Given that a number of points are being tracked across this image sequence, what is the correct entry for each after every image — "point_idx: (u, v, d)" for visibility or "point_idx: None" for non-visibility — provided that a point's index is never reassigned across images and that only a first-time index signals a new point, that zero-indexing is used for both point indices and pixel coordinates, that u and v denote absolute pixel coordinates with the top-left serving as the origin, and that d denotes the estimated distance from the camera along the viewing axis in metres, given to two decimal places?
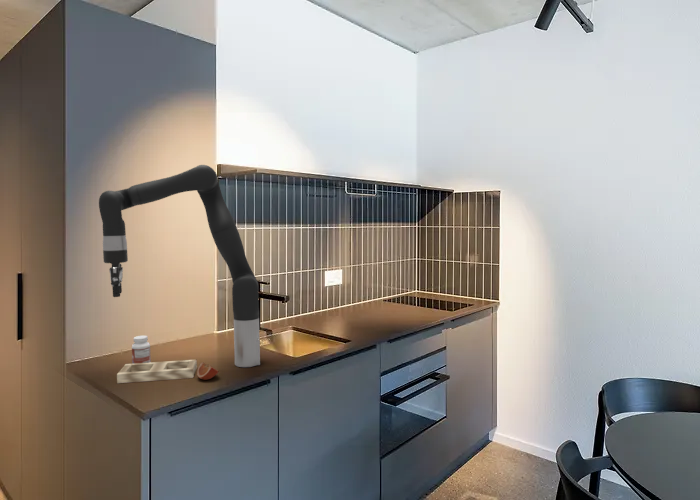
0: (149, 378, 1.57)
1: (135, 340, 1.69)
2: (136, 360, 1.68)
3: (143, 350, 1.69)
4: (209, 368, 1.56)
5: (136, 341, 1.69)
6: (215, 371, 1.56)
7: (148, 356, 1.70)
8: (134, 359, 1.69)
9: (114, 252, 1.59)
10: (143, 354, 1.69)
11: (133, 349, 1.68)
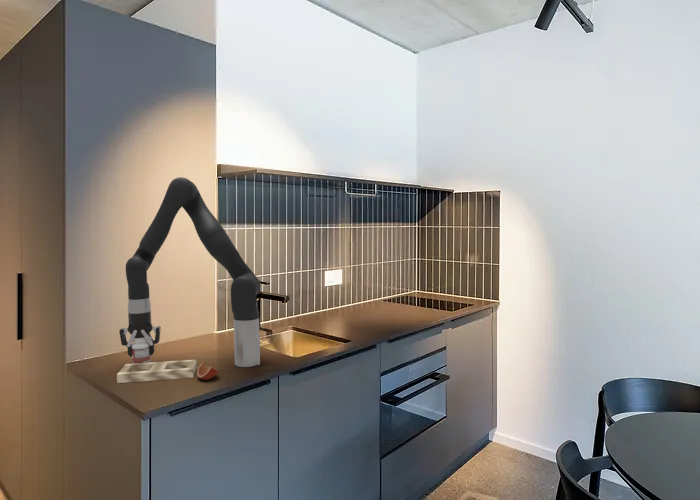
0: (149, 378, 1.57)
1: (135, 340, 1.69)
2: (136, 360, 1.68)
3: (143, 350, 1.69)
4: (209, 368, 1.56)
5: (136, 341, 1.69)
6: (215, 371, 1.56)
7: (148, 356, 1.70)
8: (134, 359, 1.69)
9: (150, 312, 1.71)
10: (143, 354, 1.69)
11: (133, 349, 1.68)
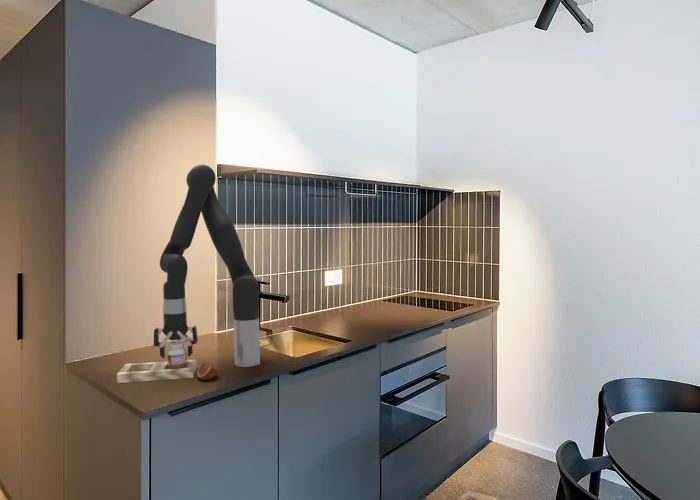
0: (149, 378, 1.57)
1: (171, 346, 1.61)
2: (172, 367, 1.60)
3: (179, 357, 1.61)
4: (209, 368, 1.56)
5: (172, 347, 1.61)
6: (215, 371, 1.56)
7: (185, 363, 1.62)
8: (170, 366, 1.61)
9: (186, 313, 1.63)
10: (179, 361, 1.61)
11: (169, 355, 1.60)
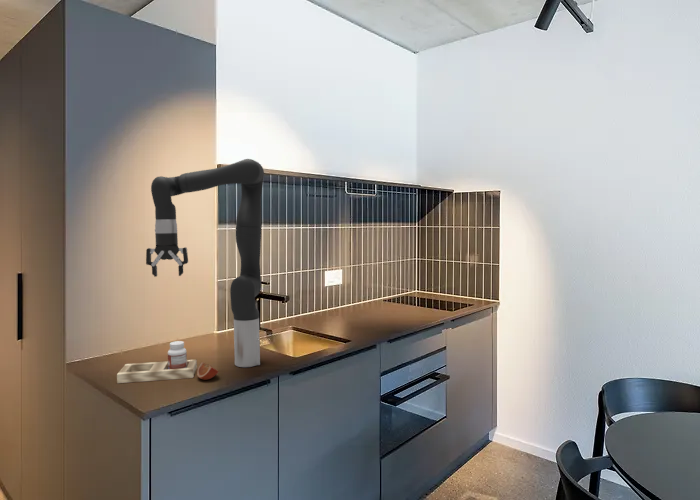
0: (149, 378, 1.57)
1: (171, 346, 1.61)
2: (173, 367, 1.60)
3: (179, 357, 1.61)
4: (209, 368, 1.56)
5: (173, 347, 1.61)
6: (215, 371, 1.56)
7: (185, 363, 1.63)
8: (170, 366, 1.61)
9: None
10: (179, 361, 1.61)
11: (169, 355, 1.60)
